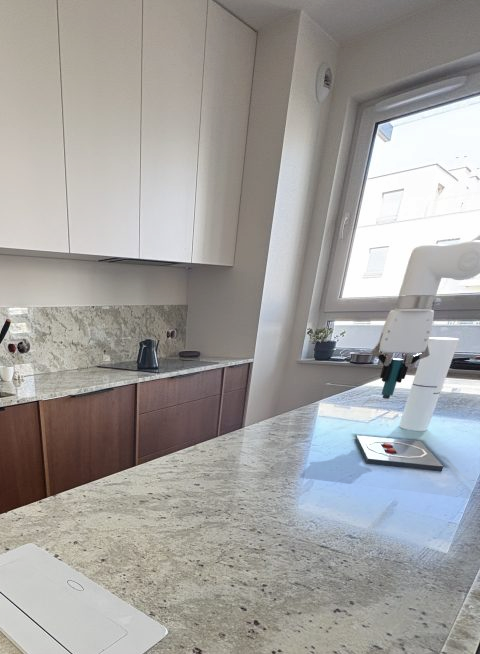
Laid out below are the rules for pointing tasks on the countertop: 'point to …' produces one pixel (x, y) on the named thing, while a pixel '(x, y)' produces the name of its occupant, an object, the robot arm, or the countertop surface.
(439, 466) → the slate board
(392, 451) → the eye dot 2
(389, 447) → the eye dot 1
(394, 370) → the marker
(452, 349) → the cylindrical container
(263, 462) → the countertop surface
